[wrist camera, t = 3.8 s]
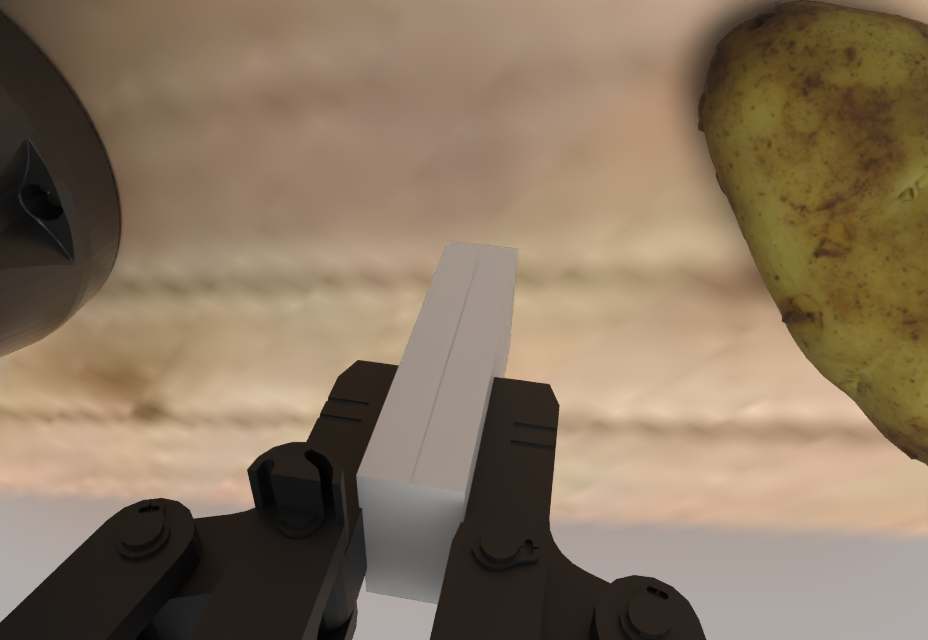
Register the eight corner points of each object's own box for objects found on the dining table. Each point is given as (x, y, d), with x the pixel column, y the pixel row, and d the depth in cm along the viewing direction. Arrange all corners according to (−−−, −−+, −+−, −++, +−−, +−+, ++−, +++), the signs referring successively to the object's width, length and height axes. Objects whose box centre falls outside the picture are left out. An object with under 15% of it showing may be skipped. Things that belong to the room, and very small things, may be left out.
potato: (1019, -128, 16) (1281, -86, 10) (1051, 299, 22) (1228, 495, 16) (667, 29, 20) (696, 135, 13) (777, 366, 26) (834, 551, 19)
